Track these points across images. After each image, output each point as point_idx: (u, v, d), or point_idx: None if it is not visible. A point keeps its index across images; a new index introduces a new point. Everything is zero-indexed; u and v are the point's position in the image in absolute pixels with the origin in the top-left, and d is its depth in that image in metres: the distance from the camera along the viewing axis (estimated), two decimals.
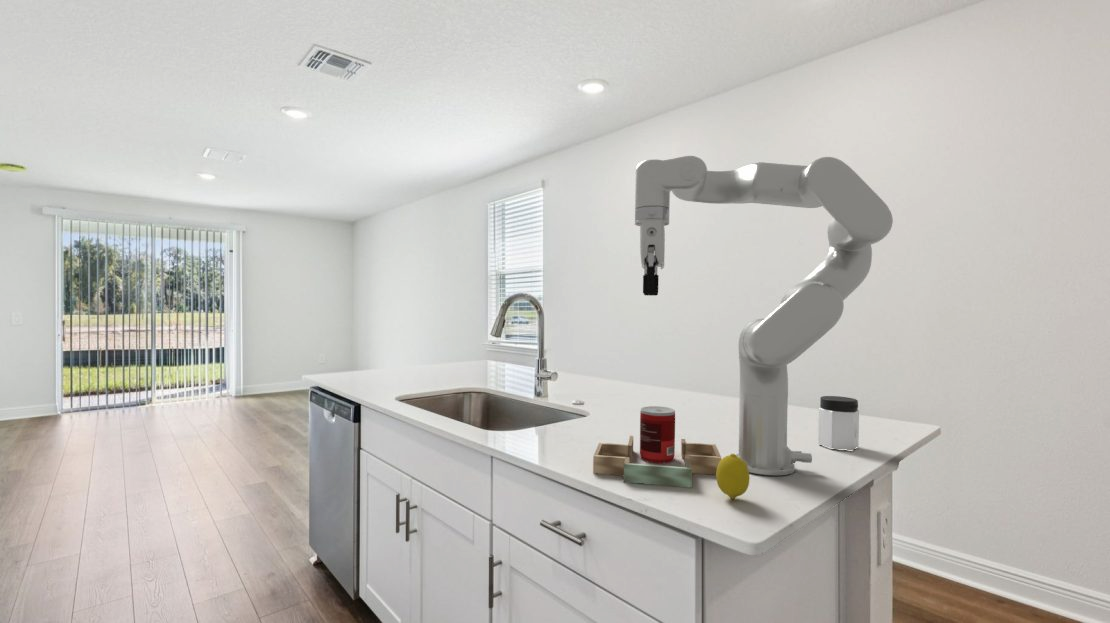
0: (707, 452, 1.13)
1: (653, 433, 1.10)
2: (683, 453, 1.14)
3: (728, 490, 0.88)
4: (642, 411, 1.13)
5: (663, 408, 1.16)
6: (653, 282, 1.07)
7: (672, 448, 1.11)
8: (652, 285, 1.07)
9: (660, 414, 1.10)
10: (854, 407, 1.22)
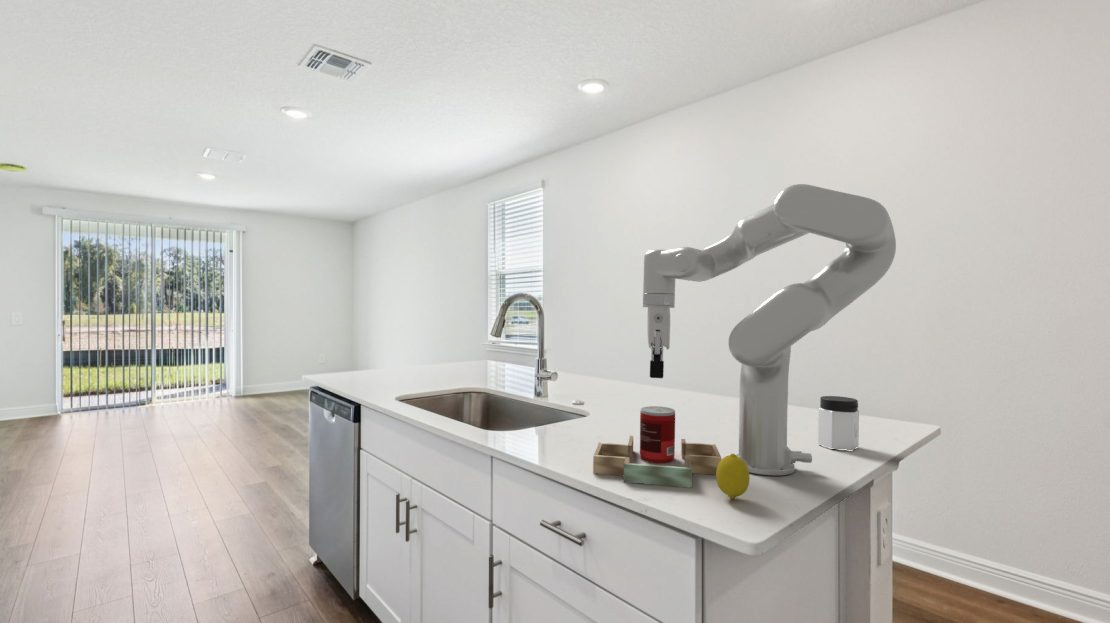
0: (707, 452, 1.13)
1: (653, 433, 1.10)
2: (683, 453, 1.14)
3: (728, 490, 0.88)
4: (642, 411, 1.13)
5: (663, 408, 1.16)
6: (659, 368, 1.21)
7: (672, 448, 1.11)
8: (658, 371, 1.21)
9: (660, 414, 1.10)
10: (854, 407, 1.22)
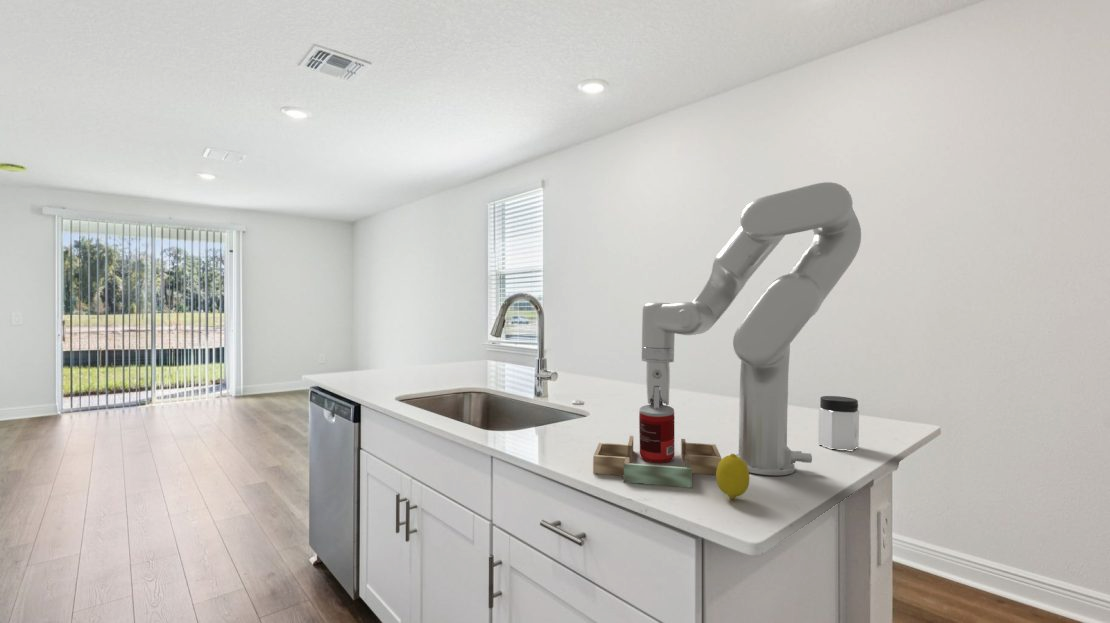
0: (707, 452, 1.13)
1: (652, 434, 1.10)
2: (683, 453, 1.14)
3: (728, 490, 0.88)
4: (641, 411, 1.12)
5: (662, 406, 1.16)
6: None
7: (672, 447, 1.11)
8: None
9: (659, 415, 1.09)
10: (854, 407, 1.22)
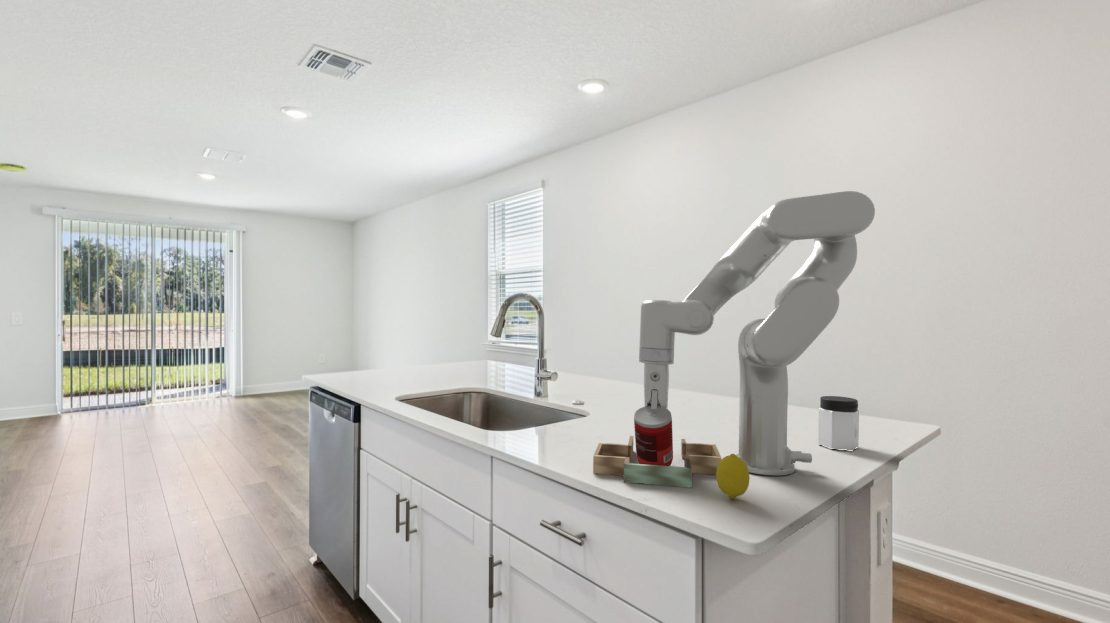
0: (707, 452, 1.13)
1: (648, 444, 1.03)
2: (683, 453, 1.14)
3: (728, 490, 0.88)
4: (635, 420, 1.04)
5: (659, 409, 1.07)
6: None
7: (669, 454, 1.04)
8: None
9: (654, 426, 1.01)
10: (854, 407, 1.22)
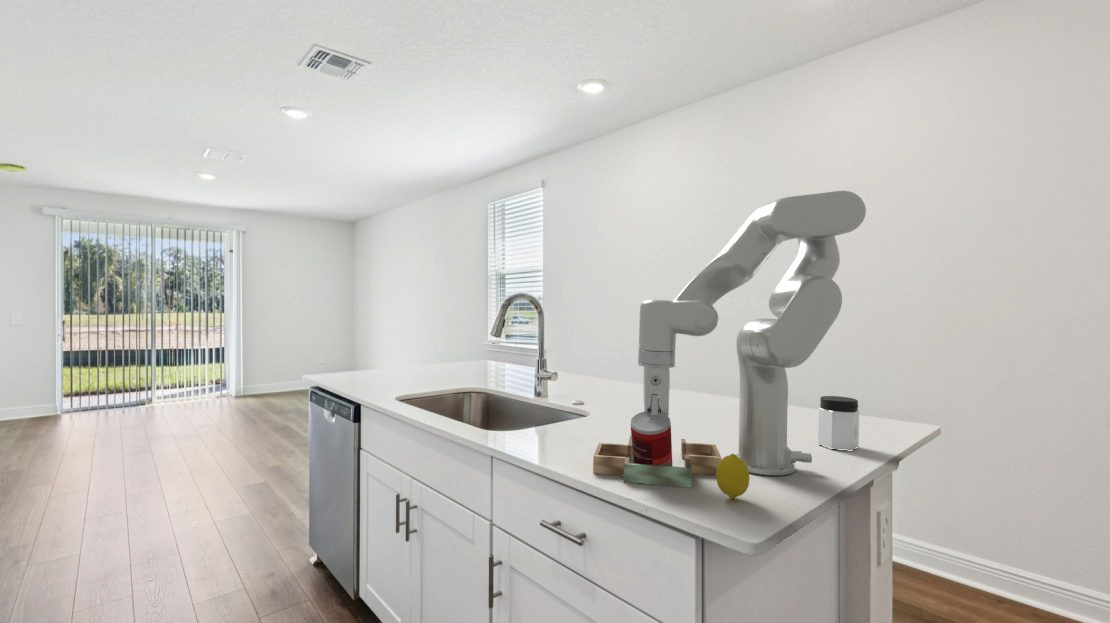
0: (707, 452, 1.13)
1: (643, 451, 0.97)
2: (683, 453, 1.14)
3: (728, 490, 0.88)
4: (631, 425, 0.99)
5: (659, 415, 1.01)
6: None
7: (667, 463, 0.98)
8: None
9: (649, 432, 0.95)
10: (854, 407, 1.22)
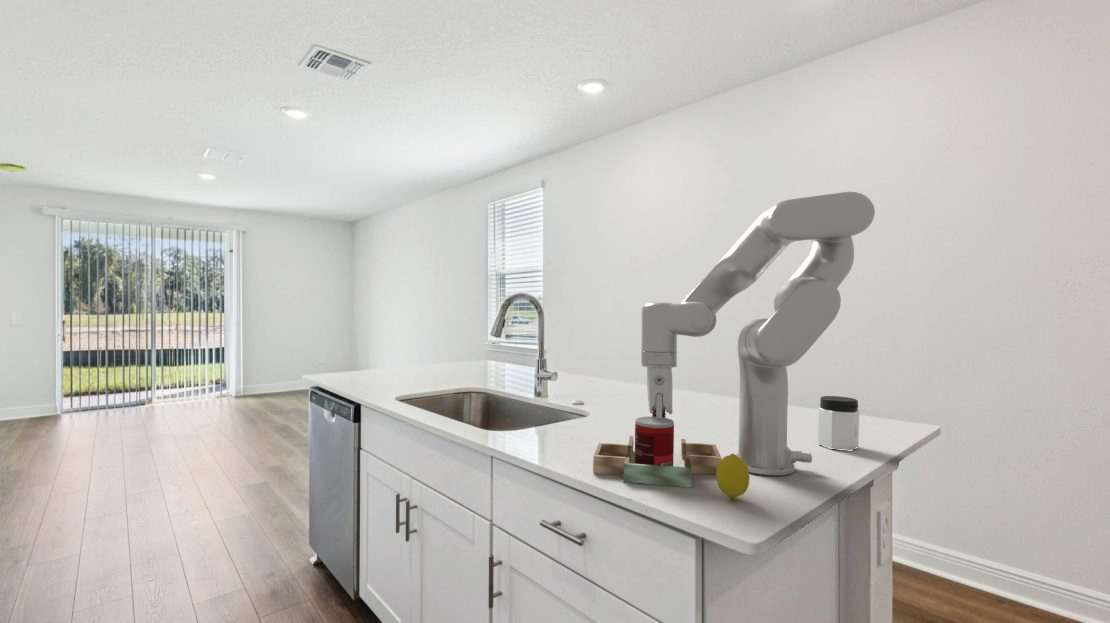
0: (707, 452, 1.13)
1: (646, 447, 0.99)
2: (683, 453, 1.14)
3: (728, 490, 0.88)
4: (636, 421, 1.02)
5: (663, 419, 1.05)
6: None
7: (668, 464, 0.99)
8: None
9: (653, 426, 0.99)
10: (854, 407, 1.22)
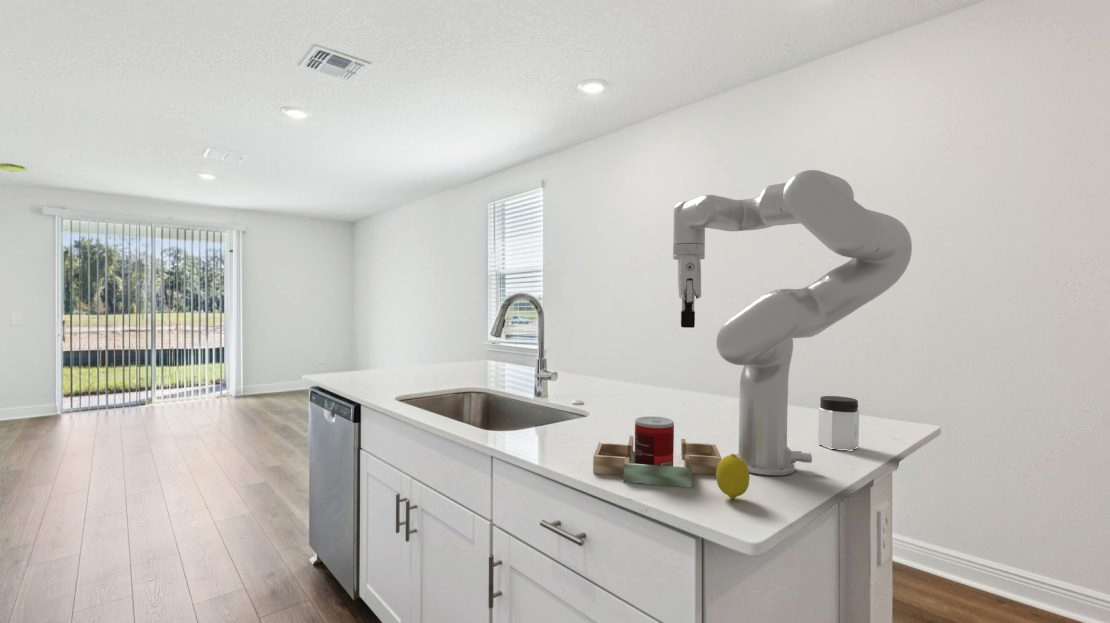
0: (707, 452, 1.13)
1: (645, 447, 0.99)
2: (683, 453, 1.14)
3: (728, 490, 0.88)
4: (636, 421, 1.02)
5: (663, 419, 1.04)
6: (690, 317, 1.24)
7: (668, 464, 0.99)
8: (689, 320, 1.24)
9: (653, 426, 0.99)
10: (854, 407, 1.22)
